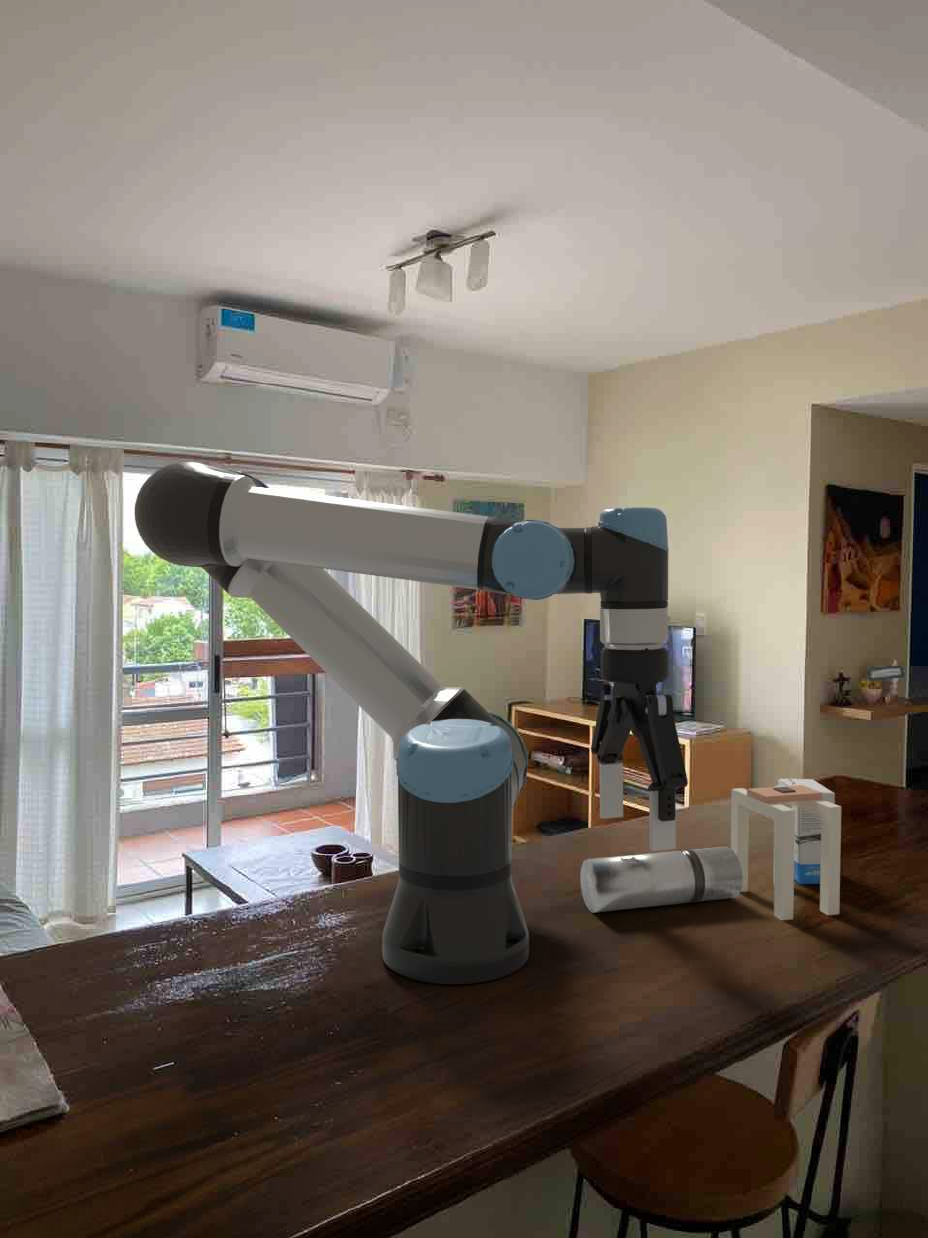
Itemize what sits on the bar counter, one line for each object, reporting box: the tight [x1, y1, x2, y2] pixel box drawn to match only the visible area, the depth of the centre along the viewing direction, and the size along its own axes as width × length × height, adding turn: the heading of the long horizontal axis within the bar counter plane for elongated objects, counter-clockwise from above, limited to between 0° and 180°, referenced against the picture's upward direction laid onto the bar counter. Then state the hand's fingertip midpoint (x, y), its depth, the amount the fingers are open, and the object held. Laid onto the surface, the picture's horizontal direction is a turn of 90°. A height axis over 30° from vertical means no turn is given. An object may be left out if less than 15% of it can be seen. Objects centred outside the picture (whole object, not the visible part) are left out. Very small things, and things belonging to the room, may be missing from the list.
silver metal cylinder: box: [579, 846, 743, 914], centre depth 111 cm, size 18×6×6 cm
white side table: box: [730, 785, 842, 921], centre depth 112 cm, size 8×11×14 cm
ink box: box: [777, 778, 836, 885], centre depth 122 cm, size 9×5×12 cm, turn 179°
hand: (635, 832), depth 107 cm, fingers open, 13 cm apart
